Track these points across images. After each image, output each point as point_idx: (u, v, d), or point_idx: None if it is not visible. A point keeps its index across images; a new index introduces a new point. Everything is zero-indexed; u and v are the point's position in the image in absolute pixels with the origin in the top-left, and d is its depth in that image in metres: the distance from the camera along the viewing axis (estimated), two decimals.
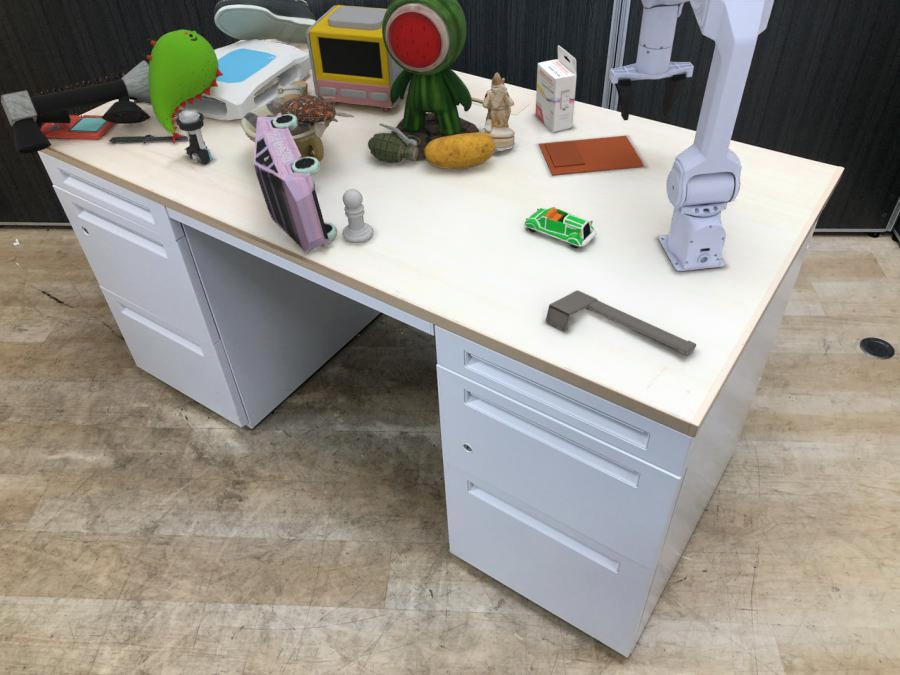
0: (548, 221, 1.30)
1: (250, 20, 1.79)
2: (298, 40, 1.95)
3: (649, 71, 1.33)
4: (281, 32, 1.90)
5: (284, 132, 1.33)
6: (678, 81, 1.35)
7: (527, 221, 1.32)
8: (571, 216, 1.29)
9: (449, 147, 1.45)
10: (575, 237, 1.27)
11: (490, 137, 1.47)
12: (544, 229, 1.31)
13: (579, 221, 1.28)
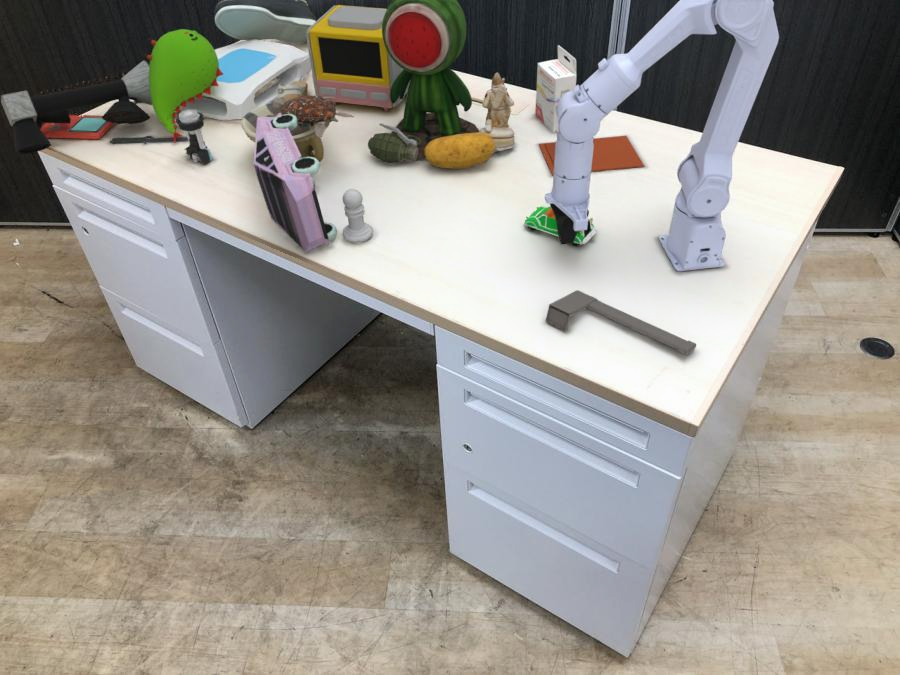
0: (548, 219, 1.30)
1: (250, 20, 1.79)
2: (298, 40, 1.95)
3: (588, 195, 1.20)
4: (281, 32, 1.90)
5: (284, 132, 1.33)
6: None
7: (527, 220, 1.32)
8: None
9: (449, 147, 1.45)
10: (576, 235, 1.28)
11: (490, 137, 1.47)
12: (544, 227, 1.31)
13: None
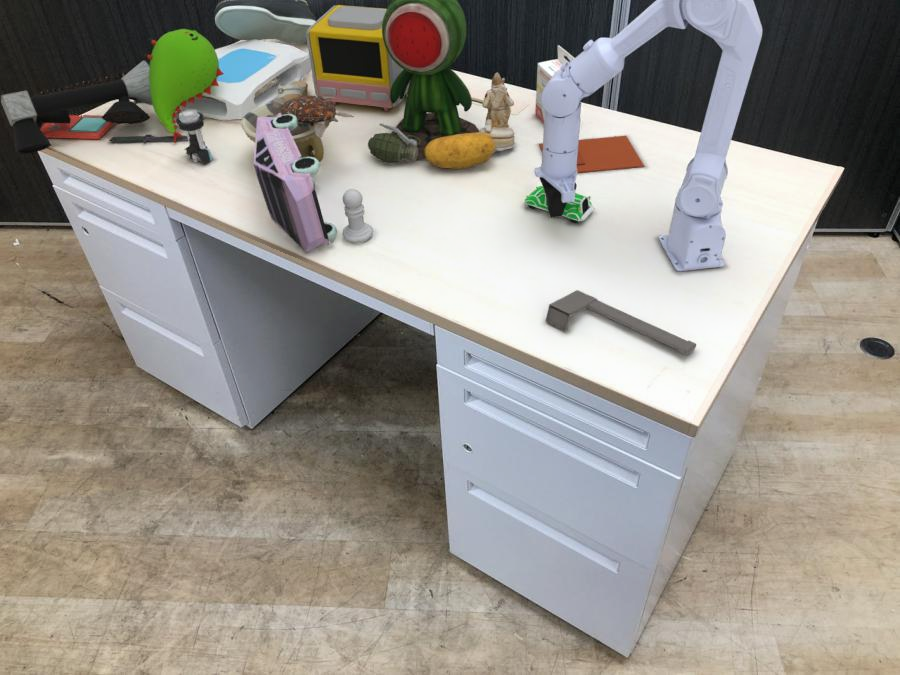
0: None
1: (250, 21, 1.79)
2: (298, 40, 1.95)
3: (575, 169, 1.26)
4: (281, 32, 1.90)
5: (284, 132, 1.33)
6: None
7: (527, 199, 1.37)
8: None
9: (449, 147, 1.45)
10: (574, 212, 1.33)
11: (490, 137, 1.47)
12: (544, 205, 1.36)
13: (578, 196, 1.33)
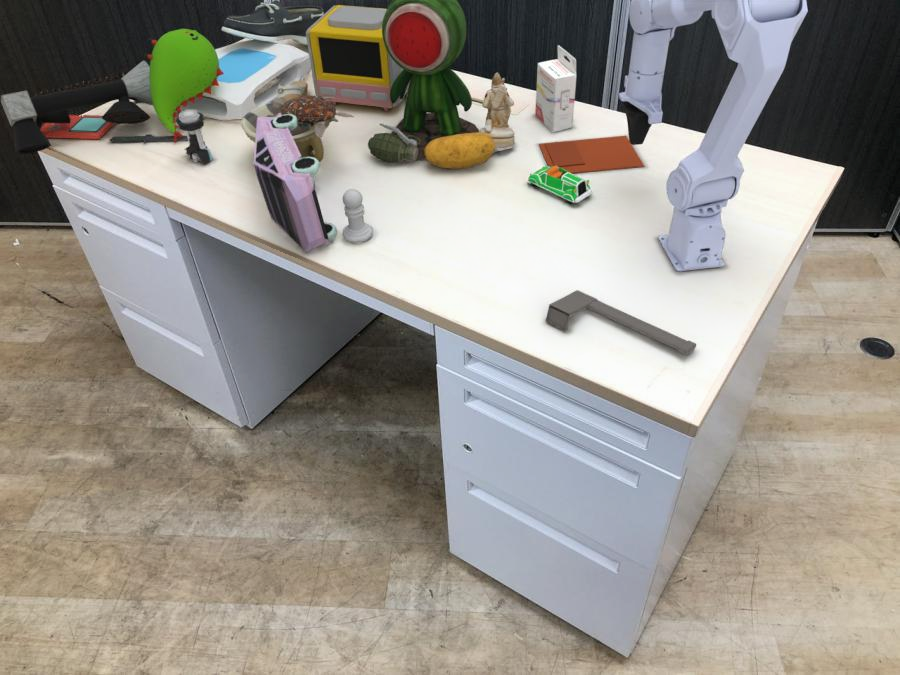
0: (548, 177, 1.40)
1: None
2: None
3: (660, 92, 1.28)
4: None
5: (284, 132, 1.33)
6: None
7: (530, 177, 1.42)
8: (569, 174, 1.39)
9: (449, 147, 1.45)
10: (570, 193, 1.37)
11: (490, 137, 1.47)
12: (544, 185, 1.41)
13: (575, 179, 1.37)
